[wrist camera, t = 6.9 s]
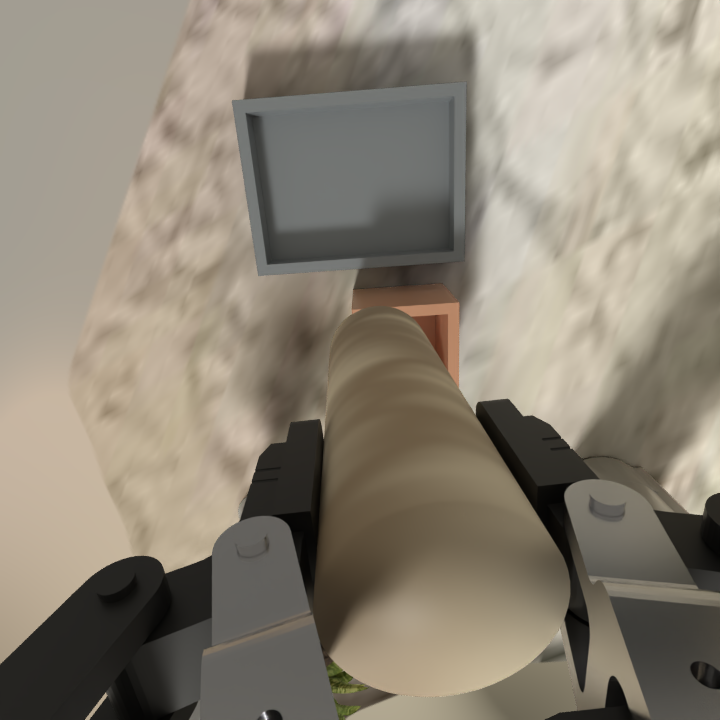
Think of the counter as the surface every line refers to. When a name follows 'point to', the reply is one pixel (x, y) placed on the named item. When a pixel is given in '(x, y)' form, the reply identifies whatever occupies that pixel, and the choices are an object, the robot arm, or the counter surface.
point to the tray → (355, 177)
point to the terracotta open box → (422, 315)
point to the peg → (423, 526)
